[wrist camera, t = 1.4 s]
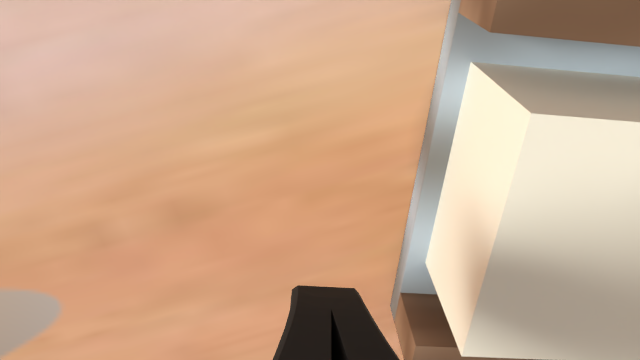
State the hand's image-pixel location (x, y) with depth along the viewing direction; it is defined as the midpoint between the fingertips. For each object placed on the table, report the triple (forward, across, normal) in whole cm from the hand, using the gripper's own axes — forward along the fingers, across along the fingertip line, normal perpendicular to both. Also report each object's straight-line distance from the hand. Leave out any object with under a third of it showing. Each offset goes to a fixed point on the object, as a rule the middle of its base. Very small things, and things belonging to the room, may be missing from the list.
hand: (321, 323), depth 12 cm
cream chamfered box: (+8, -9, 0) cm, 12 cm away
